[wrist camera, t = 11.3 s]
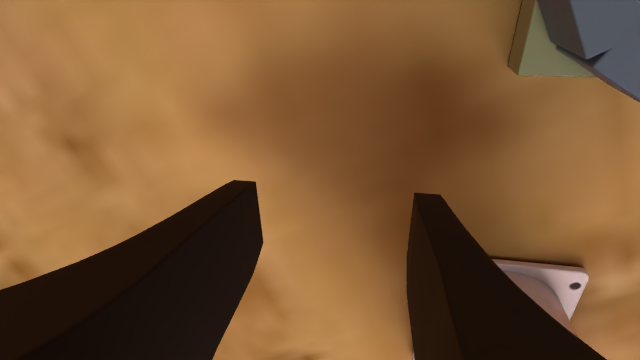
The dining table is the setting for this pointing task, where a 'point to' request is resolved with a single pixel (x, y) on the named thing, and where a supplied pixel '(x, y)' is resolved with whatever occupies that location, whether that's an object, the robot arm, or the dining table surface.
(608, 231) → the dining table surface
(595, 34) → the ring
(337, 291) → the dining table surface
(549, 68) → the post
